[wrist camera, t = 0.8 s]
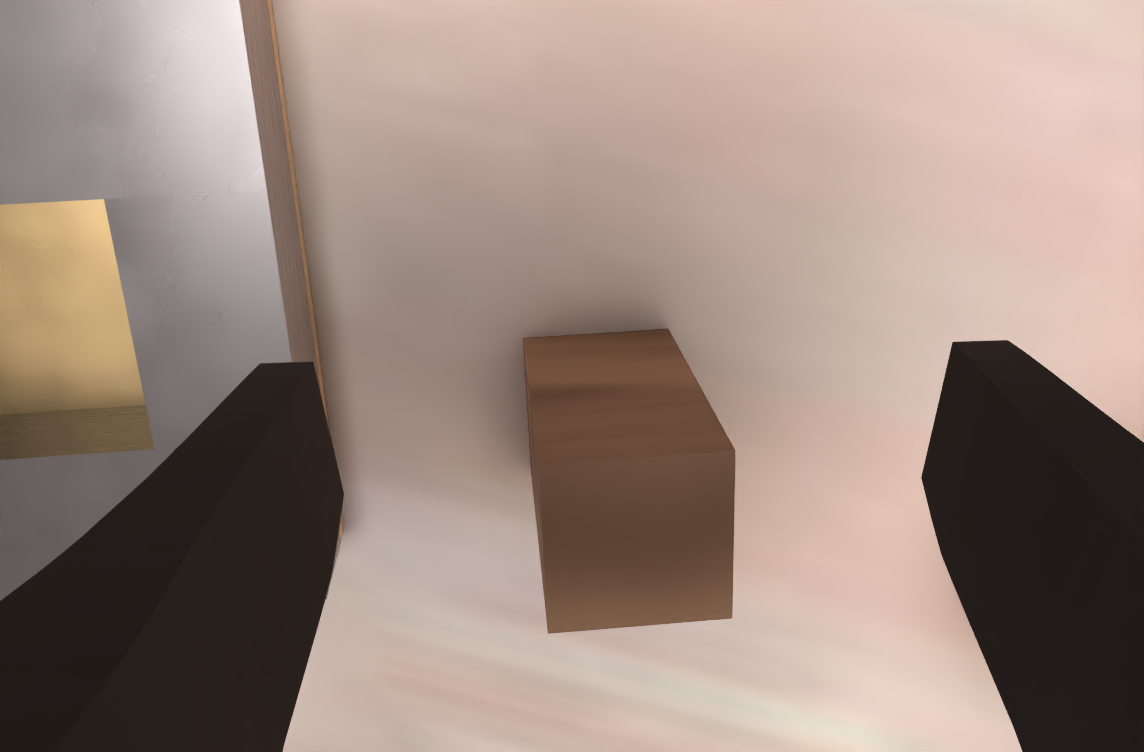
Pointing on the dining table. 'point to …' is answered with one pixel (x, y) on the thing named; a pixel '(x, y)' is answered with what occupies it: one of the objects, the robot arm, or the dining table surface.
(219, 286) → the block
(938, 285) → the dining table surface
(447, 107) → the dining table surface
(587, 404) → the peg
